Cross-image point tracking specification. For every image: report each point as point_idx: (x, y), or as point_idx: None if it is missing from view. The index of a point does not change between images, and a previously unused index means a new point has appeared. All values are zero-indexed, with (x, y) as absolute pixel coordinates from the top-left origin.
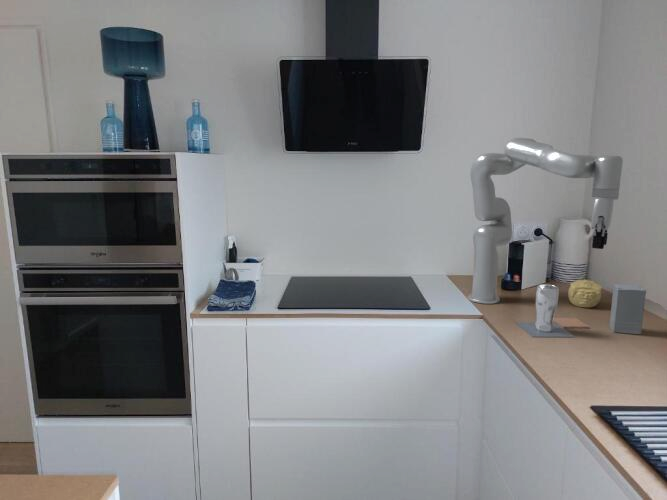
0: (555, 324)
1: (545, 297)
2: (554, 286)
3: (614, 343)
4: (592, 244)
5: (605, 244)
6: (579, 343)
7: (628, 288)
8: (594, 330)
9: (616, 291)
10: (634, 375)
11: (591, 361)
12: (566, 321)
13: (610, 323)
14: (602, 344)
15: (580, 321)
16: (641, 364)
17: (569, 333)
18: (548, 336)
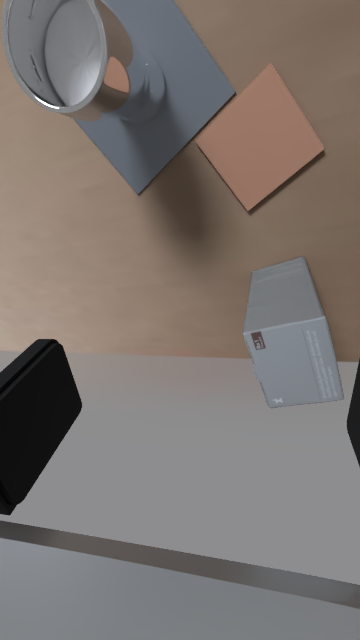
0: (212, 105)
1: (32, 69)
2: (101, 72)
3: (164, 281)
4: (21, 355)
5: (351, 425)
6: (103, 214)
7: (267, 364)
8: (236, 226)
9: (260, 322)
10: (29, 321)
11: (24, 256)
12: (259, 131)
13: (291, 262)
14: (137, 260)
15: (289, 174)
16: (85, 328)
17: (153, 173)
18: (83, 128)
